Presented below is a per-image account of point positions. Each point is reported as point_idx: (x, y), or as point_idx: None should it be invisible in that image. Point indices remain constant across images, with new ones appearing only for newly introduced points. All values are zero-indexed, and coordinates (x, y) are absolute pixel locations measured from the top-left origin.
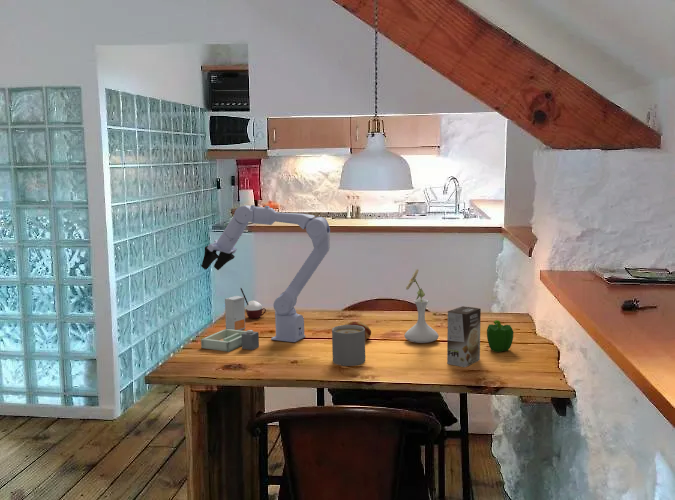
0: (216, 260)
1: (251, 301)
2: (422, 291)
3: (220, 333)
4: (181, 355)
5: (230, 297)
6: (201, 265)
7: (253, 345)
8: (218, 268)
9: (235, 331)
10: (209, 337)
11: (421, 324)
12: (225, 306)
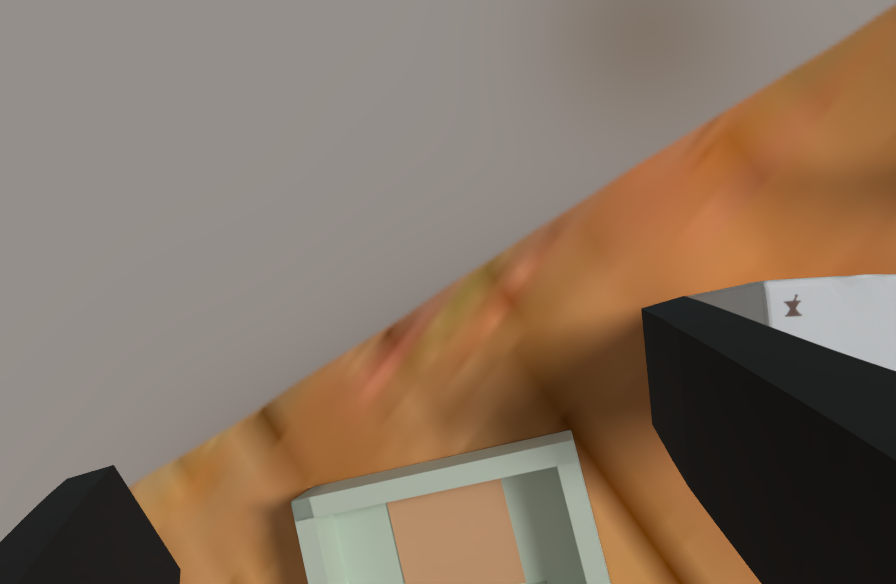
0: (759, 377)
1: None
2: None
3: (481, 480)
4: (160, 502)
5: (850, 288)
6: (51, 503)
7: None
8: (677, 451)
9: (577, 545)
10: (358, 508)
11: None
12: (736, 293)
